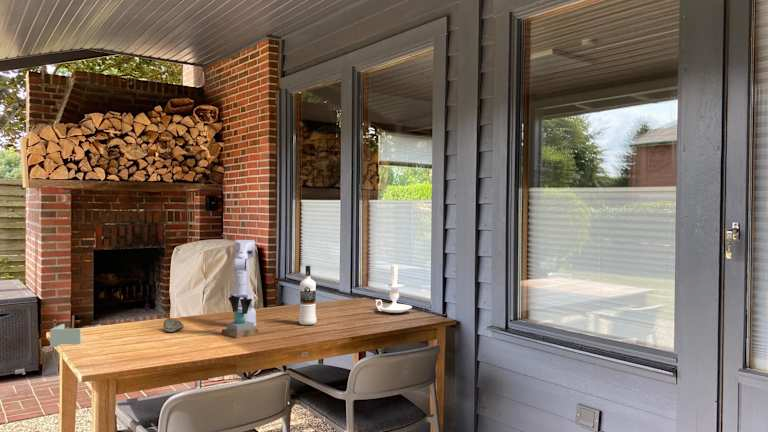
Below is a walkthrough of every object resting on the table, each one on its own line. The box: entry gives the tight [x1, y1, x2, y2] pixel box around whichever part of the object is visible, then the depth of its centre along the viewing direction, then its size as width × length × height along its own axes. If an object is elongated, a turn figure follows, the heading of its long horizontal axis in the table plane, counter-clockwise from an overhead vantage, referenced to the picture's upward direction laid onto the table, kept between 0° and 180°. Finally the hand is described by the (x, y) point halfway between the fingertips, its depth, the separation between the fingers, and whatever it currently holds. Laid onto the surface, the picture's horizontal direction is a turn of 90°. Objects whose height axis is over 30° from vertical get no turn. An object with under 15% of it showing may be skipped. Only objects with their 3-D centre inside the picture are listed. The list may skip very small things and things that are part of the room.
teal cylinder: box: [233, 312, 245, 324], centre depth 273 cm, size 5×5×5 cm
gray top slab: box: [226, 321, 255, 332], centre depth 273 cm, size 9×9×3 cm
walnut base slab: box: [221, 327, 259, 339], centre depth 273 cm, size 12×12×3 cm
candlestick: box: [375, 264, 413, 314], centre depth 333 cm, size 21×25×28 cm
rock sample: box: [163, 317, 185, 333], centre depth 277 cm, size 10×8×9 cm
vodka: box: [298, 265, 318, 326], centre depth 300 cm, size 9×9×30 cm
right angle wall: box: [49, 323, 82, 348], centre depth 252 cm, size 12×12×8 cm
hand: (240, 312), depth 273 cm, fingers open, 7 cm apart
